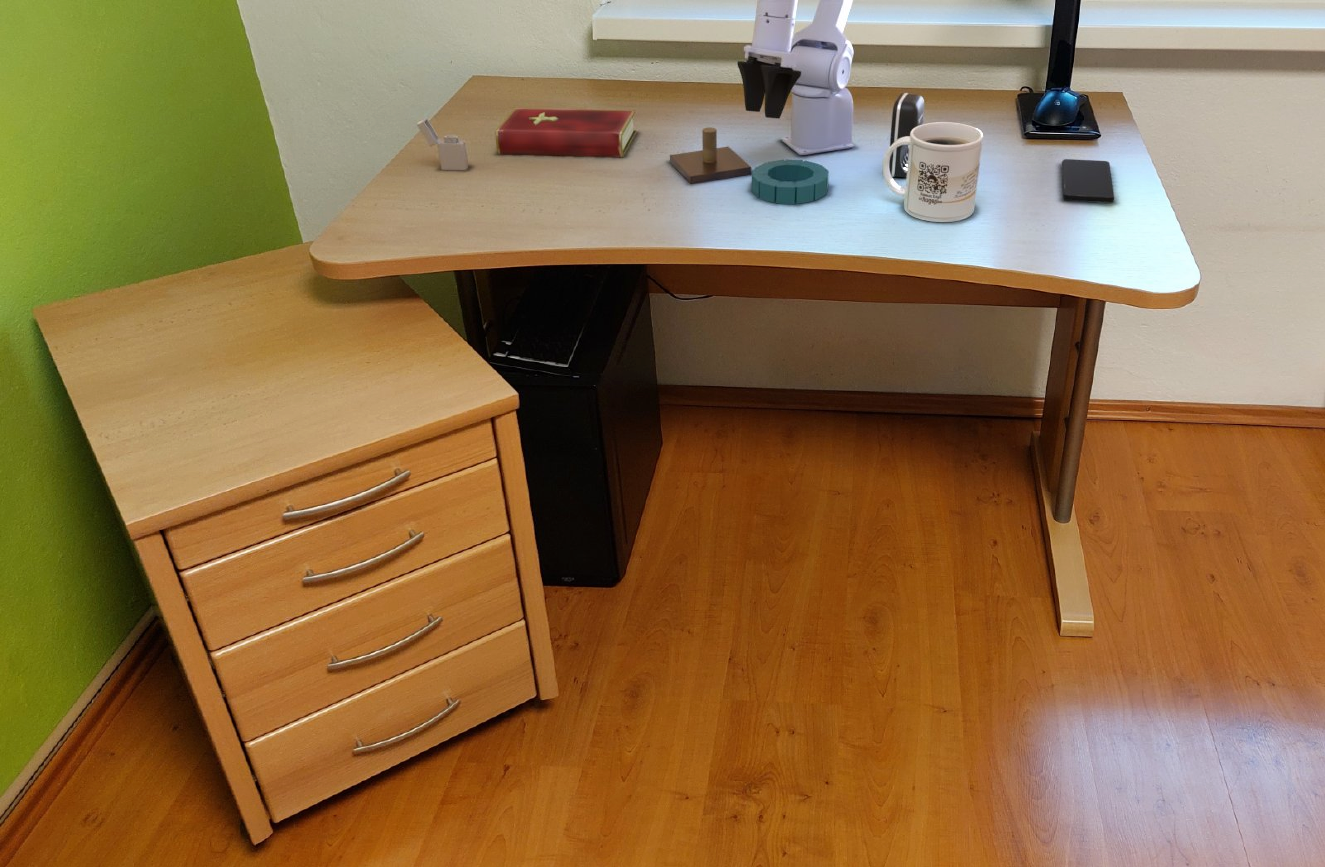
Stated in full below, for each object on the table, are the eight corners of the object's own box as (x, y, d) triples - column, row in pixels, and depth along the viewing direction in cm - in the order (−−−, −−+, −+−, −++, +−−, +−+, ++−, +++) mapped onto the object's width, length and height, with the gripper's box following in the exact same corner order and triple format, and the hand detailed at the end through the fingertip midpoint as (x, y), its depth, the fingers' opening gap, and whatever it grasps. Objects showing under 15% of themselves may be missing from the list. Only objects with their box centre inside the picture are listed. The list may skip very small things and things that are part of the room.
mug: (929, 229, 156) (936, 151, 150) (876, 200, 165) (881, 126, 159) (988, 213, 160) (998, 136, 154) (933, 186, 169) (941, 113, 163)
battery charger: (911, 180, 171) (918, 105, 165) (886, 178, 172) (892, 103, 166) (920, 164, 177) (927, 91, 170) (895, 162, 178) (902, 89, 171)
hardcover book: (622, 158, 183) (621, 132, 181) (497, 154, 187) (494, 129, 184) (636, 133, 193) (634, 108, 191) (517, 130, 196) (514, 106, 194)
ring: (808, 171, 176) (809, 155, 174) (840, 197, 167) (840, 180, 165) (741, 182, 173) (741, 165, 172) (769, 208, 164) (769, 191, 163)
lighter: (468, 166, 183) (462, 117, 178) (465, 170, 181) (458, 121, 177) (426, 165, 184) (419, 116, 179) (423, 169, 182) (415, 120, 178)
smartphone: (1063, 195, 162) (1062, 158, 174) (1062, 201, 163) (1061, 163, 175) (1114, 198, 160) (1109, 160, 172) (1113, 203, 161) (1108, 166, 173)
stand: (728, 153, 184) (728, 115, 180) (751, 174, 176) (751, 135, 172) (669, 162, 181) (668, 124, 178) (690, 183, 173) (689, 144, 170)
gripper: (731, 11, 168) (719, 106, 173) (769, 17, 155) (756, 119, 160) (774, 16, 170) (762, 109, 175) (816, 22, 158) (801, 122, 162)
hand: (762, 114), depth 168 cm, fingers open, 7 cm apart
